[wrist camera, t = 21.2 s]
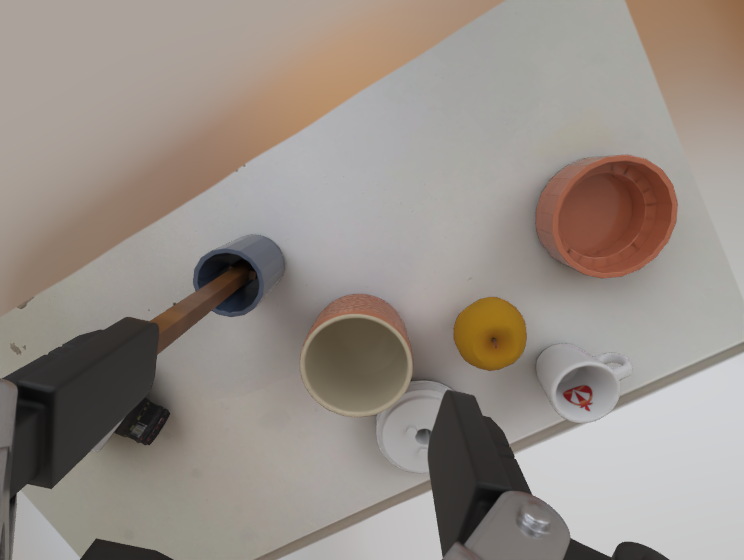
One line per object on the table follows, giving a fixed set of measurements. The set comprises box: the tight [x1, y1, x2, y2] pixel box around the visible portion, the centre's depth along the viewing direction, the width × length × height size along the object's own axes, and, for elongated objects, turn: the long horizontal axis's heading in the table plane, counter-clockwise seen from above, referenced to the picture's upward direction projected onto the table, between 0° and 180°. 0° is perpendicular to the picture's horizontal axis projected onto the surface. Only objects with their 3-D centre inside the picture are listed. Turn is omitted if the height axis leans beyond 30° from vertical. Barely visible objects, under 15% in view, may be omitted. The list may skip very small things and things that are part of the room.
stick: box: [149, 258, 258, 355], centre depth 37 cm, size 2×3×32 cm, turn 77°
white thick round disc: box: [376, 380, 453, 474], centre depth 56 cm, size 13×13×5 cm
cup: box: [536, 344, 633, 423], centre depth 52 cm, size 11×8×8 cm
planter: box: [300, 294, 413, 417], centre depth 50 cm, size 12×12×11 cm
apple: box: [454, 297, 527, 371], centre depth 50 cm, size 8×8×9 cm
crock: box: [193, 235, 285, 317], centre depth 48 cm, size 7×7×10 cm
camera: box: [91, 398, 170, 452], centre depth 54 cm, size 15×11×10 cm
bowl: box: [536, 155, 678, 278], centre depth 48 cm, size 13×13×6 cm
